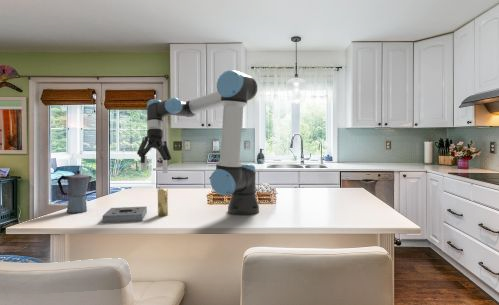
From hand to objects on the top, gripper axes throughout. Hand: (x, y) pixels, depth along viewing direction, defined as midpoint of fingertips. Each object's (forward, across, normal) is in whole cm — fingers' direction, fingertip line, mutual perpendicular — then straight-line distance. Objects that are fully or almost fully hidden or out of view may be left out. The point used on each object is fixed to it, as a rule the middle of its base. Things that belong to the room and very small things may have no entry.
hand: (155, 171), depth 156 cm
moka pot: (+17, +17, -36) cm, 43 cm away
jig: (+21, +12, -6) cm, 25 cm away
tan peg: (+21, +1, +6) cm, 22 cm away
